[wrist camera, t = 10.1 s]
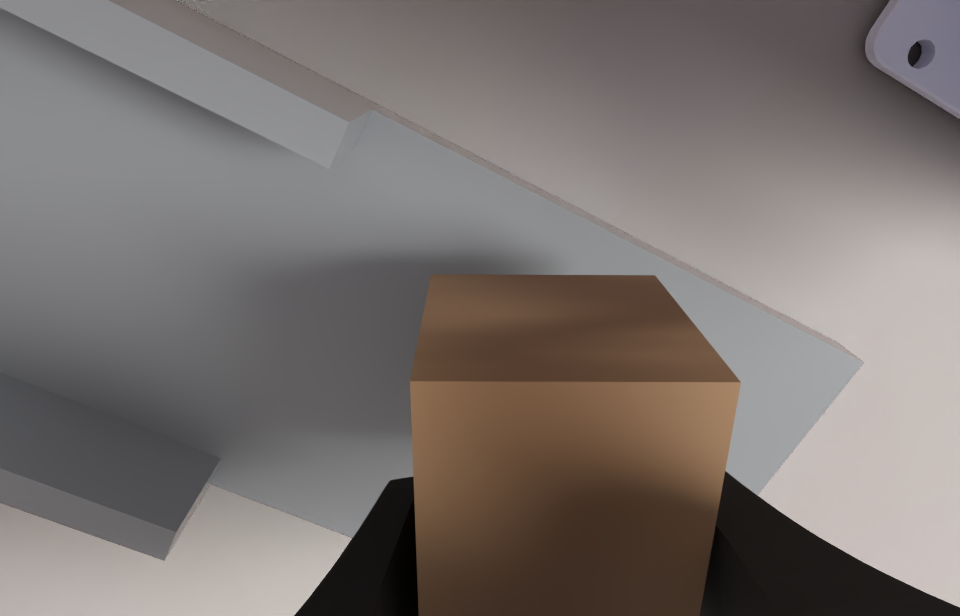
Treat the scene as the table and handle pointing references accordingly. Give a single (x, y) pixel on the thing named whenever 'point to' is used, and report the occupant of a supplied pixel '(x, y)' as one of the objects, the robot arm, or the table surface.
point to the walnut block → (565, 447)
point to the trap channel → (269, 278)
